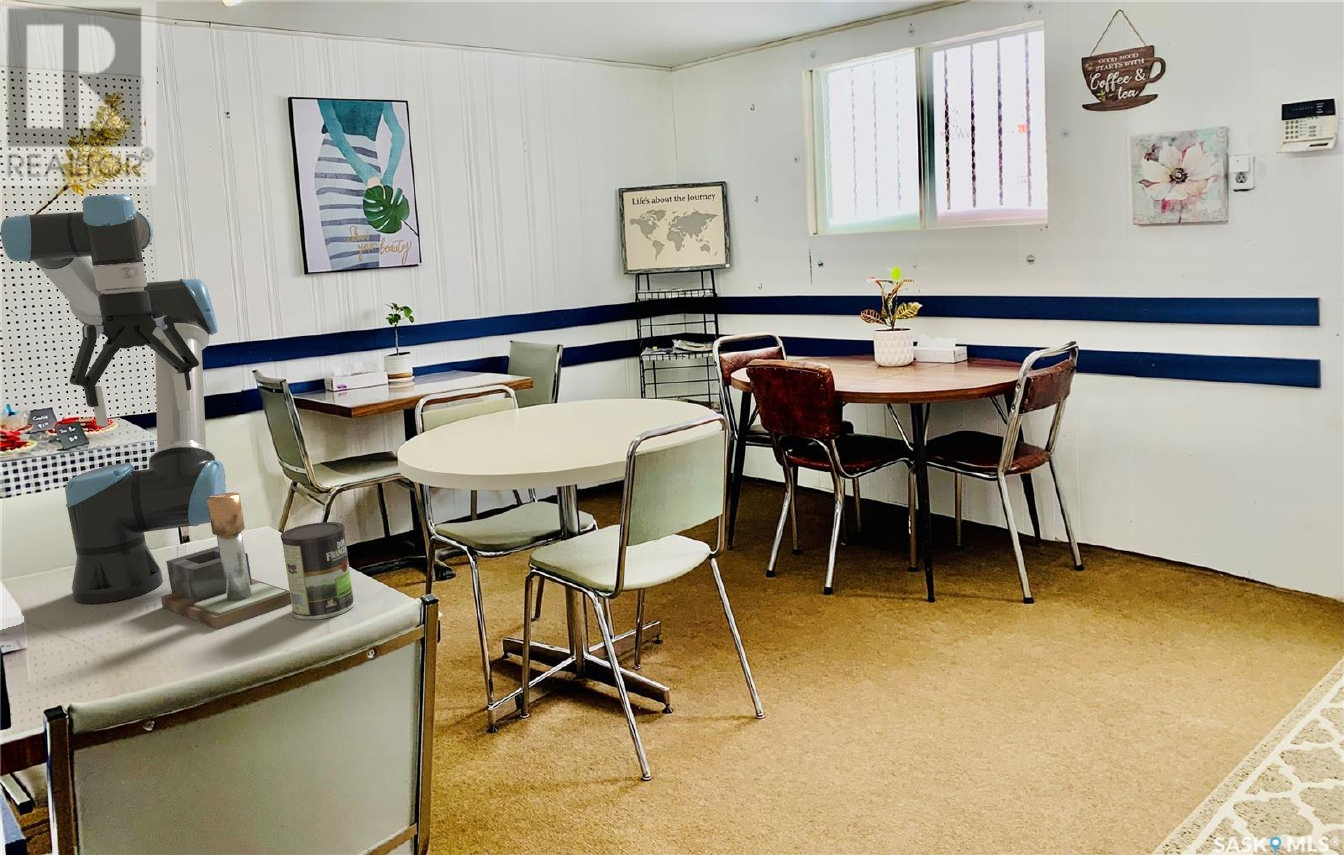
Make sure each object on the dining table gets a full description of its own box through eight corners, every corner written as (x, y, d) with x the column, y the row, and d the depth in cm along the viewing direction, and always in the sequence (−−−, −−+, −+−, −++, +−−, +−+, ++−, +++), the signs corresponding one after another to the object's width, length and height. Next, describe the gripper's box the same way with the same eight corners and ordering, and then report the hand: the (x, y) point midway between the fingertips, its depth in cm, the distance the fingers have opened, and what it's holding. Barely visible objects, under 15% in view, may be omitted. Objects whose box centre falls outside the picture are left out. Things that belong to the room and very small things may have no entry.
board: (162, 607, 191) (154, 564, 190) (236, 583, 202) (230, 542, 200) (217, 629, 179) (209, 583, 177) (293, 602, 189) (287, 558, 187)
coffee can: (365, 598, 188) (355, 520, 186) (336, 620, 178) (325, 539, 176) (312, 598, 190) (300, 521, 188) (280, 620, 181) (268, 539, 178)
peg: (232, 604, 183) (215, 502, 179) (217, 598, 186) (201, 498, 183) (261, 594, 187) (245, 494, 183) (246, 589, 190) (230, 491, 187)
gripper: (50, 299, 165) (75, 434, 169) (207, 283, 183) (226, 405, 188) (31, 299, 170) (56, 430, 174) (186, 283, 188) (205, 403, 192)
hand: (144, 418), depth 181 cm, fingers open, 13 cm apart
